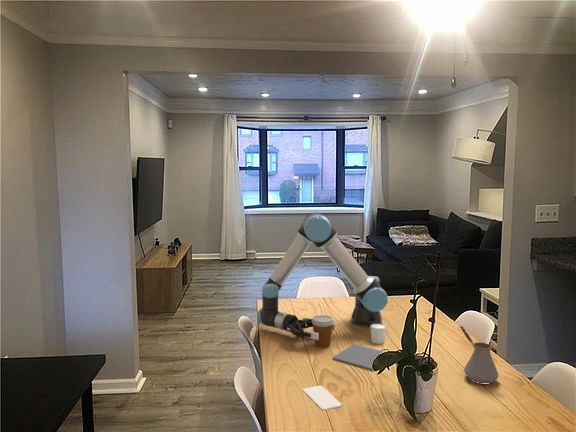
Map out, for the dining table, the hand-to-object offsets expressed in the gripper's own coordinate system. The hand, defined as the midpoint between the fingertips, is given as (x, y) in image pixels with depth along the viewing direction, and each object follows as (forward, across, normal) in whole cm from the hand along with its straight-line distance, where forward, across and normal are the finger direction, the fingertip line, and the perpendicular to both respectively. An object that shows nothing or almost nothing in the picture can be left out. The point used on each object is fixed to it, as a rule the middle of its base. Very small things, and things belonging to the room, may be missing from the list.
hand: (326, 332), depth 195 cm
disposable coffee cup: (-2, 0, -7) cm, 7 cm away
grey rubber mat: (+18, +1, -6) cm, 19 cm away
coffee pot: (+58, -11, -7) cm, 59 cm away
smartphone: (+22, +39, -7) cm, 45 cm away
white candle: (+15, -19, -7) cm, 25 cm away
